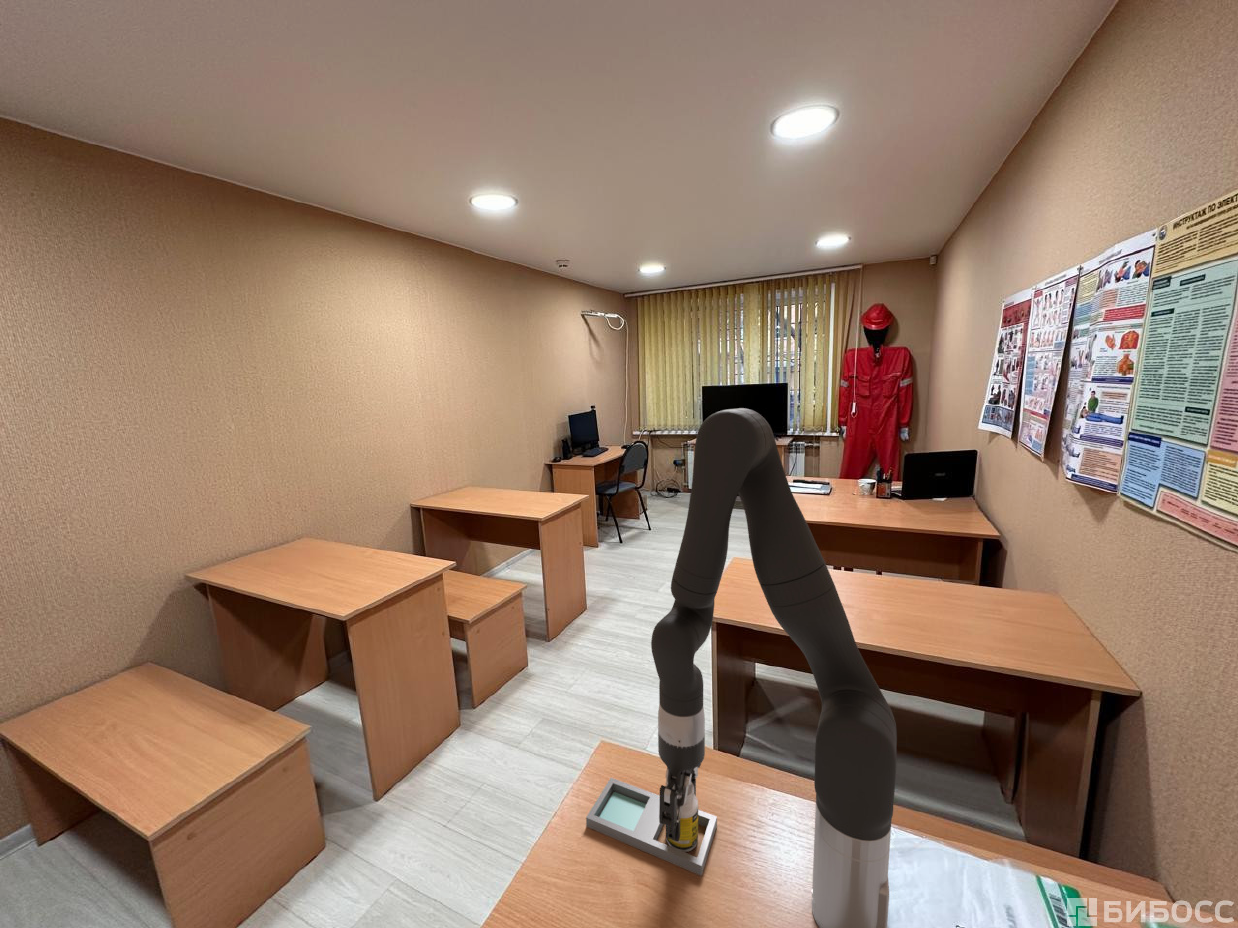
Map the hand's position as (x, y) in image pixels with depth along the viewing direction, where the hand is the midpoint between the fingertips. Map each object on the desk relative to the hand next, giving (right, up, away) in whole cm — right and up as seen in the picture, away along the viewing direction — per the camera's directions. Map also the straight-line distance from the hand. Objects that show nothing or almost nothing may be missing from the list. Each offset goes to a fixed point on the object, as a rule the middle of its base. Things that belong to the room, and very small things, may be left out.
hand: (681, 816), depth 79 cm
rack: (-5, -4, +3) cm, 7 cm away
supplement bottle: (0, -4, +1) cm, 4 cm away
